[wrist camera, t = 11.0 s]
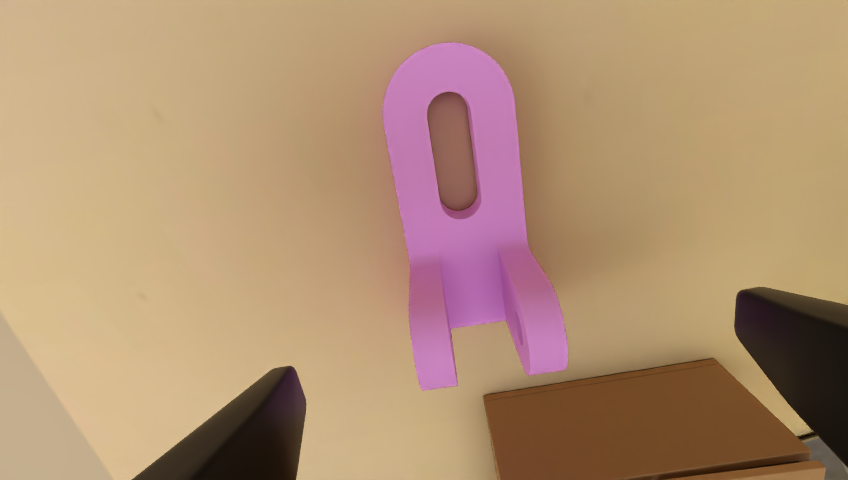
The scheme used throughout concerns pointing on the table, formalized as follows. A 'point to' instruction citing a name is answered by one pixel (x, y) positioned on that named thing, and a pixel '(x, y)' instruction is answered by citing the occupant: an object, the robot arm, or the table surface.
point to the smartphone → (826, 458)
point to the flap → (769, 473)
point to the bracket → (467, 219)
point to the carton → (637, 427)
